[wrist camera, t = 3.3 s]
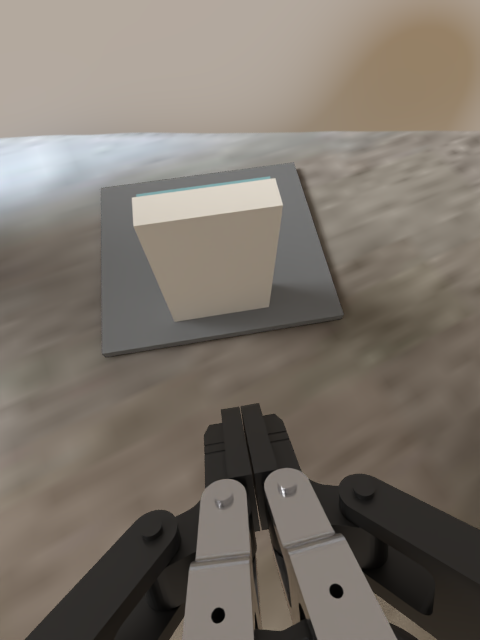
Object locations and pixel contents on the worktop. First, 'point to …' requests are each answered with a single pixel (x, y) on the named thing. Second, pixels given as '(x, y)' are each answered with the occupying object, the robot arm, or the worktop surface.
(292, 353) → the worktop surface
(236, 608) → the robot arm
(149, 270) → the mat
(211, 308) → the tile
